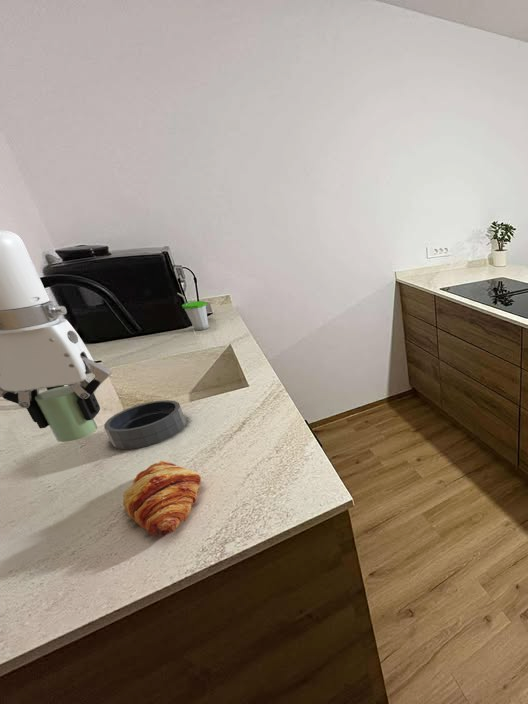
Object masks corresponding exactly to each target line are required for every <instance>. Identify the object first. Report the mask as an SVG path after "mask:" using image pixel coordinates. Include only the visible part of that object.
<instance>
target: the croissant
mask: <svg viewBox="0 0 528 704" xmlns="http://www.w3.org/2000/svg"><path fill="white" fill-rule="evenodd" d="M132 482H133V483H132V485H131V486H129V488H128V489H127V490H126V491H125V492H123V493H124V494H123V500H122V505H123V507H124V512H125V513H126V514H127V515H128V516H129V517H130V518H131V519H132V520H134V521H135V522H136V523H137V525H139V527H141V528H143V529H144V530H146V531H147V532H148V533H149V534H150V535H154V536H167V535H170V534H172V533H174V531H175V530H177V529H178V527H179V525H180V524H181V523H182V522H183V521H185V520H186V518H187V517H189V514H190V513H191V510H192V507H193V505H194V504H195V503H196V500H197V496H198V491H199V488H200V485H201V482H202V481H201V475H200V474H199V473H198V472H196V471H193V470H191V469H187V468H185V467H183V466H179V465H176V464H175V463H172V462H168V461H165V460H160V461H159V462H156V463H152V464H151V465H149V467H147V468H146V469H144V470H142V471H140V472H139V473H137V475H136V476H135V478H133V481H132Z"/></svg>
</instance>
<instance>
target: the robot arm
mask: <svg viewBox="0 0 528 704" xmlns="http://www.w3.org/2000/svg"><path fill="white" fill-rule="evenodd" d="M37 271H38V270H37V268H36V267H35V265H34V262H33V260H32V258H31V256H30V254H29V251H28V250H27V247H26V245H25V243H24V241H23V239H22V238H21V237H20V236H19V235H18V234H17V233H15V232H13V231H10V230H6V229H0V398H3V399H4V400H6V401H9V402H11V403H14V404H18V406H19V407H20V408H22V409H26V410H27V412H28V414H29V415H30V418H31V419H32V422H34V423H36V424H37V426H38V428H39V429H45V428H47V427H49V424H48V423H47V421H46V419H45V417H44V415H43V413H42V411H41V409H40V408H39V406H38V404H37V402H36V400H35V396H37V395H38V394H40V389H48V388H56V387H63V386H69V387H70V388H71V389H72V390H73V391H74V392H75V393H76V394H77V395H78V396H79V398H80V399H79V400H77V403H78V405H79V407H80V409H81V411H82V413H83V415H84V417H85V419H86V420H93V419H95V417H96V416H97V415H98V414H99V413H100V410H101V406H100V404H99V402H98V400H97V397H96V395H95V391H96V390H97V389H98V388H99V387H100V386H101V384H102V383H103V382H104V381H106V380H107V379H108V378H109V377H110V376H112V373H113V372H112V370H110V369H109V368H107V367H105V366H103V365H101V364H99V363H98V362H95V361H94V359H93V357H92V354H91V353H90V350H89V349H88V348H87V346H86V344H85V342H84V341H83V339H82V338H81V337H80V335H79V333H78V332H77V331H76V329H75V327H73V326H72V324H71V323H70V322H69V321H68V319H66V318H60V316H61V315H62V316H63V315H67V313H68V311H67V308H66V306H64V305H56V304H54V302H53V301H52V300H50V297H49V295H48V293H47V291H46V289H45V287H44V284H43V282H42V279H41V277H40V275H39V272H37ZM89 374H93V375H94V378H93V379H92V380H89V379H88V378H87V375H89Z"/></svg>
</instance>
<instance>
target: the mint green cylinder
mask: <svg viewBox="0 0 528 704" xmlns="http://www.w3.org/2000/svg"><path fill="white" fill-rule="evenodd" d="M79 399H80V398H79V396H78V395H77V394H76V393H75V392H74V391H73V390H72V389H71V388H70V387H69V386H68V385H62V386H56V387H52V388H51V389H47V390H45V391H42V392H39V394H38V395H37V396H35V400H36V402H37V404H38V406H39V408H40V409H41V411H42V413H43V415H44V417H45V419H46V421H47V423H48V424H49V425H48V427H49V429H50V430H51V432H52V434H53V435H54V438H55V440H56V441H57V442H60V443H67V442H73V441H77V440H81V439H84V438H86V437H87V436H90V435H92V434H94V433H95V432H96V431H97V430H98V425H97V423H96V421H95V418H93V420H86V419H85V417H84V415H83V413H82V411H81V409H80V407H79V405H78V403H77V400H79Z"/></svg>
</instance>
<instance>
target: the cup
mask: <svg viewBox="0 0 528 704" xmlns="http://www.w3.org/2000/svg"><path fill="white" fill-rule="evenodd" d="M176 294H177V296H180V297H181V298H182V299H183V302H184V303H183V304H182V305H181V308H182V309H184V311H185V313H186V315H187V317H188V319H189V320H190V323H191V324H192V327H193V328H194V331H205V330H208V329H210V327H209V320H208V313H207V307H206V306H207V302H206V301H204V300H199V301H198V300H197V301H190V302H187V300H186V298H185V295H183V294H181V293H179V292H177V293H176Z"/></svg>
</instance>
